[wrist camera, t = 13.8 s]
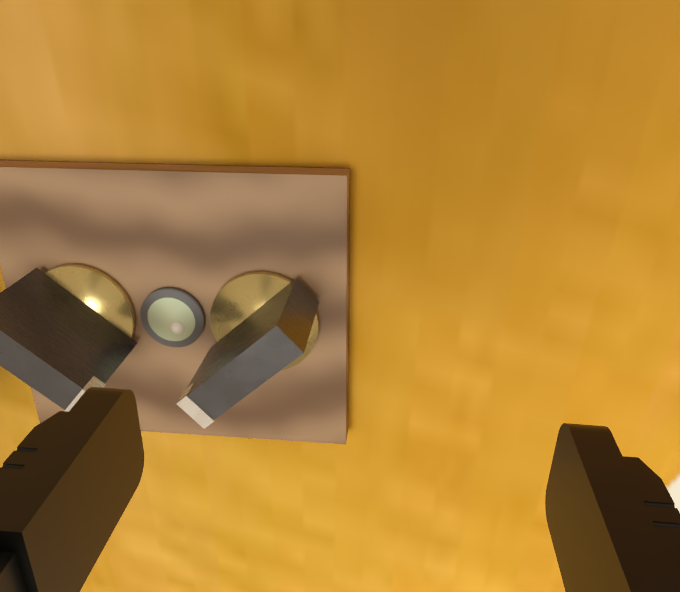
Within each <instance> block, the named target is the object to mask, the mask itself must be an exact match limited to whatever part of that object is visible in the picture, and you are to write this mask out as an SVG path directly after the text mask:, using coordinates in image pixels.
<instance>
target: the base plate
mask: <svg viewBox="0 0 680 592" xmlns="http://www.w3.org/2000/svg"><path fill="white" fill-rule="evenodd" d="M349 194H350V168H309V167H267V166H225V165H183V164H141V163H99V162H58V161H16V160H0V266H1V270H2V274H3V278H4V282H5V286H6V289H7V288H8V287H10V286H11V285H12V284H14V283H15V282H17V281H18V280H20V279H21V278H22V277H24V276H25V275H27V274H28V273H30V272H31V271H32V270H34V269H35V268H38V269H39V270H41V271H42V272H43V273H46V272H47V271H49V270H50V269H52V268H53V267H56V266H58V265H62V264H66V263H81V264H87V265H90V266H94V267H96V268H99V269H101V270H102V271H104V272H106V273H108V274H109V275H111V276H112V277H113V278H114V279H116V280H117V281H118V282H119V283H120V284H121V285H122V286H123V288H124V289H125V290H126V291H127V293H128V295H129V296H130V298H131V300H132V302H133V305H134V308H135V312H136V329H135V333H134V335H133V337H132V339H133V340H135V341H136V342H137V345H136V346H135V347H134V348H133V349H132V351H131V352H130V353H129V354H128V356H127V357H126V358H125V359H124V361H123V362H122V363H121V364H120V366H119V367H118V368H117V369H116V371H115V372H114V373H113V374H112V376H111V377H110V378H109V379H108V380H107V382H106V383H105V384H106V385H105V387H104V388H115V389H129V390H132V392H133V393H134V395H135V398H136V404H137V410H138V417H139V424H140V430H141V431H150V432H165V433H181V434H196V435H211V436H227V437H242V438H257V439H273V440H288V441H303V442H319V443H334V444H346V439H347V432H348V351H349ZM257 270H264V271H272V272H276V273H280V274H282V275H285V276H287V277H289V278H291V279H293V280H294V279H295V278H297V279H298V280H299V281H300V282H301V283H302V284H303V285H304V286H305V287H306V288H307V289H308V290H309V291H310V292H311V293H312V294H313V295H314V296H315V297H316V298H317V300H318V301H319V305H318V308H317V311H318V316H319V331H318V335H317V339H316V342H315V345H314V347H313V349H312V350H311V352H310V353H309V355H308V356H307V357H306V358H305V359H304V360H303V361H301V362H300V363H299V364H297V365H295V366H293V367H291V368H289V369H286V370H282V371H279V372H278V373H276V374H275V375H274V376H272V377H271V378H270V379H268V380H267V381H266V382H264V383H263V384H262V385H260V386H259V387H258V388H256V389H255V390H254V391H252V392H251V393H250V394H248V395H247V396H246V397H244V398H243V399H242V400H240V401H239V402H238V403H236V404H235V405H234V406H232V407H231V408H230V409H228V410H227V411H226V412H224V413H223V414H222V415H220V416H219V417H218V418H216V419H215V421H214V422H213V423H211V424H210V425H209V426H207V427H206V428H205V429H204V428H202V427H201V426H200V425H199V424H198V423H197V422H196V421H195V420H194V419H192V418H191V417H190V416H189V415H188V414H187V413H186V412H185V411H184V410H182V409H181V408H180V407H179V406H178V405H177V404H176V403H177V402H178V400H179V398H180V397H181V395H182V393H183V391H184V390H185V389H186V388H187V387H188V385H189V384H190V382H191V380H192V378H193V377H194V375H195V373H196V371H197V370H198V368H199V366H200V365H201V363H202V361H203V359H204V358H205V356H206V354H207V353H208V351H209V349H210V347H212V346H213V345H214V344H215V343H216V340H215V338H214V335H213V333H212V329H211V325H210V312H211V307H212V304H213V301H214V299H215V297H216V296H217V294H218V293H219V291H220V290H221V288H222V287H223V286H224V285H225V284H226V283H227V282H228V281H229V280H231V279H232V278H234V277H236V276H238V275H240V274H242V273H245V272H250V271H257ZM31 389H32V393H33V397H34V401H35V405H36V409H37V412H38V416H39V420H40V423H42V422H43V421H45V420H46V419H48V418H50V417H51V416H53V415H54V414H56V413H57V412H59V411H65V410H64V409H62V408H61V407H60V406H58V405H57V404H55V403H54V402H52V401H51V400H49V399H48V398H47V397H45V396H44V395H42V394H41V393H39V392H38V391H36V390H35V389H34V388H32V387H31Z"/></svg>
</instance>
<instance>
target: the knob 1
mask: <svg viewBox="0 0 680 592" xmlns="http://www.w3.org/2000/svg"><path fill="white" fill-rule="evenodd" d="M135 329H136V312H135V308H134V305H133V302H132V300H131V298H130V296H129V295H128V293H127V291H126V290H125V289H124V288H123V286H122V285H121V284H120V283H119V282H118V281H117V280H116V279H114V278H113V277H112V276H111V275H109V274H108V273H106V272H104V271H102V270H101V269H99V268H96V267H94V266H90V265H87V264H81V263H66V264H62V265H58V266H56V267H53V268H52V269H50V270H49V271H47V272H46V273H43V272H42V271H41V270H39V269H38V268H35V269H34V270H32V271H31V272H30V273H28V274H27V275H25V276H24V277H22V278H21V279H20V280H18V281H17V282H15V283H14V284H12V285H11V286H10V287H8V288H7V289H5V290H4V291H2V292H1V293H0V366H2V367H3V368H5V369H6V370H8V371H9V372H11V373H12V374H13V375H15V376H16V377H18V378H19V379H21V380H22V381H24V382H25V383H26V384H28V385H29V386H31V387H32V388H34V389H35V390H36V391H38V392H39V393H41V394H42V395H44V396H45V397H47V398H48V399H49V400H51V401H52V402H54V403H55V404H57V405H58V406H60V407H61V408H62V409H64V410H65V411H67V412H69V411H70V410H71V408H72V407H73V406H74V405H75V403H76V402H77V401H78V400H79V399H80V397H81V396H82V395H83V394H84V392H85V391H86V390H87V389H89V388H90V387H102V388H104V387H105V385H106V384H105V383H106V382H107V380H108V379H109V378H110V377H111V376H112V374H113V373H114V372H115V371H116V369H117V368H118V367H119V366H120V364H121V363H122V362H123V361H124V359H125V358H126V357H127V356H128V354H129V353H130V352H131V351H132V349H133V348H134V347H135V346H136V345H137V342H136V341H135V340H133V339H132V337H133V335H134V333H135Z"/></svg>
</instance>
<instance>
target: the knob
mask: <svg viewBox="0 0 680 592" xmlns="http://www.w3.org/2000/svg"><path fill="white" fill-rule="evenodd" d="M318 305H319V301H318V300H317V298H316V297H315V296H314V295H313V294H312V293H311V292H310V291H309V290H308V289H307V288H306V287H305V286H304V285H303V284H302V283H301V282H300V281H299V280H298V279H297V278H295V279H294V280H293V279H291V278H289V277H287V276H285V275H282V274H280V273H276V272H272V271H264V270H257V271H250V272H245V273H242V274H240V275H238V276H236V277H234V278H232V279H231V280H229V281H228V282H227V283H226V284H225V285H224V286H223V287H222V288H221V290H220V291H219V293H218V294H217V296H216V297H215V299H214V301H213V304H212V307H211V312H210V325H211V329H212V333H213V335H214V338H215V340H216V343H215V344H214V345H213V346H212V347H210V349H209V351H208V353H207V354H206V356H205V358H204V359H203V361H202V363H201V365H200V366H199V368H198V370H197V371H196V373H195V375H194V377H193V378H192V380H191V382H190V384H189V385H188V387H187V388H186V389H185V390H184V391H183V393H182V395H181V397H180V398H179V400H178V402H177V403H176V404H177V405H178V406H179V407H180V408H181V409H182V410H184V411H185V412H186V413H187V414H188V415H189V416H190V417H191V418H192V419H194V420H195V421H196V422H197V423H198V424H199V425H200V426H201V427H202V428H204V429H205V428H206V427H207V426H209V425H210V424H211V423H213V422H214V421H215V419H216V418H218V417H219V416H220V415H222V414H223V413H224V412H226V411H227V410H228V409H230V408H231V407H232V406H234V405H235V404H236V403H238V402H239V401H240V400H242V399H243V398H244V397H246V396H247V395H248V394H250V393H251V392H252V391H254V390H255V389H256V388H258V387H259V386H260V385H262V384H263V383H264V382H266V381H267V380H268V379H270V378H271V377H272V376H274V375H275V374H276V373H278V372H279V371H282V370H286V369H289V368H291V367H293V366H295V365H297V364H299V363H300V362H301V361H303V360H304V359H305V358H306V357H307V356H308V355H309V353H310V352H311V350H312V349H313V347H314V345H315V342H316V339H317V335H318V331H319V316H318V311H317V308H318Z"/></svg>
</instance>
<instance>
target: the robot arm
mask: <svg viewBox="0 0 680 592" xmlns="http://www.w3.org/2000/svg"><path fill="white" fill-rule="evenodd" d="M143 466H144V450H143V443H142V437H141V430H140V424H139V417H138V410H137V404H136V398H135V395H134V393H133V392H132V390H129V389H115V388H102V387H90V388H89V389H87V390H86V391H85V392H84V394H83V395H82V396H81V397H80V399H79V400H78V401H77V402H76V403H75V405H74V406H73V407H72V408H71V410H70V411H69V412H67V411H59V412H57V413H56V414H54V415H53V416H51V417H50V418H48V419H46V420H45V421H43V422H42V423H40V424H39V425H37V426H36V427H34V428H33V429H32V431H31V432H30V433H29V434H28V435H27V436H26V438H25V439H24V440H23V441H22V442H21V443H20V444H19V446H18V447H17V451H13V452H12V454H11V455H10V456H9V457H8V458H7V459H6V461H5V462H4V463H3V467H2V468H0V592H80V590H81V588H82V586H83V584H84V583H85V581H86V579H87V577H88V575H89V573H90V572H91V570H92V568H93V566H94V564H95V563H96V561H97V559H98V557H99V555H100V554H101V552H102V550H103V548H104V546H105V545H106V543H107V541H108V539H109V537H110V536H111V534H112V532H113V530H114V528H115V526H116V525H117V523H118V521H119V519H120V517H121V516H122V514H123V512H124V510H125V508H126V507H127V505H128V503H129V501H130V499H131V498H132V496H133V494H134V492H135V490H136V488H137V487H138V485H139V482H140V479H141V476H142V472H143ZM546 517H547V523H548V527H549V531H550V535H551V538H552V542H553V546H554V550H555V553H556V557H557V561H558V565H559V568H560V572H561V576H562V580H563V583H564V587H565V591H566V592H680V513H679V511H678V509H677V508H675V507H674V502H673V500H672V498H671V496H670V494H669V492H668V490H667V488H666V487H665V485H664V483H663V481H662V479H661V478H660V477H659V476H658V475H656V474H655V473H654V472H653V471H652V470H651V469H650V468H649V467H648V466H647V465H646V464H645V463H644V462H643V461H641V460H640V459H639V458H636V457H623V456H622V454H621V452H620V450H619V448H618V446H617V444H616V442H615V440H614V437H613V435H612V433H611V431H610V430H609V428H608V427H605V426H593V425H580V424H566V423H564V424H562V425H561V427H560V430H559V433H558V438H557V442H556V447H555V451H554V456H553V461H552V465H551V470H550V474H549V479H548V484H547V489H546Z"/></svg>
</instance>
